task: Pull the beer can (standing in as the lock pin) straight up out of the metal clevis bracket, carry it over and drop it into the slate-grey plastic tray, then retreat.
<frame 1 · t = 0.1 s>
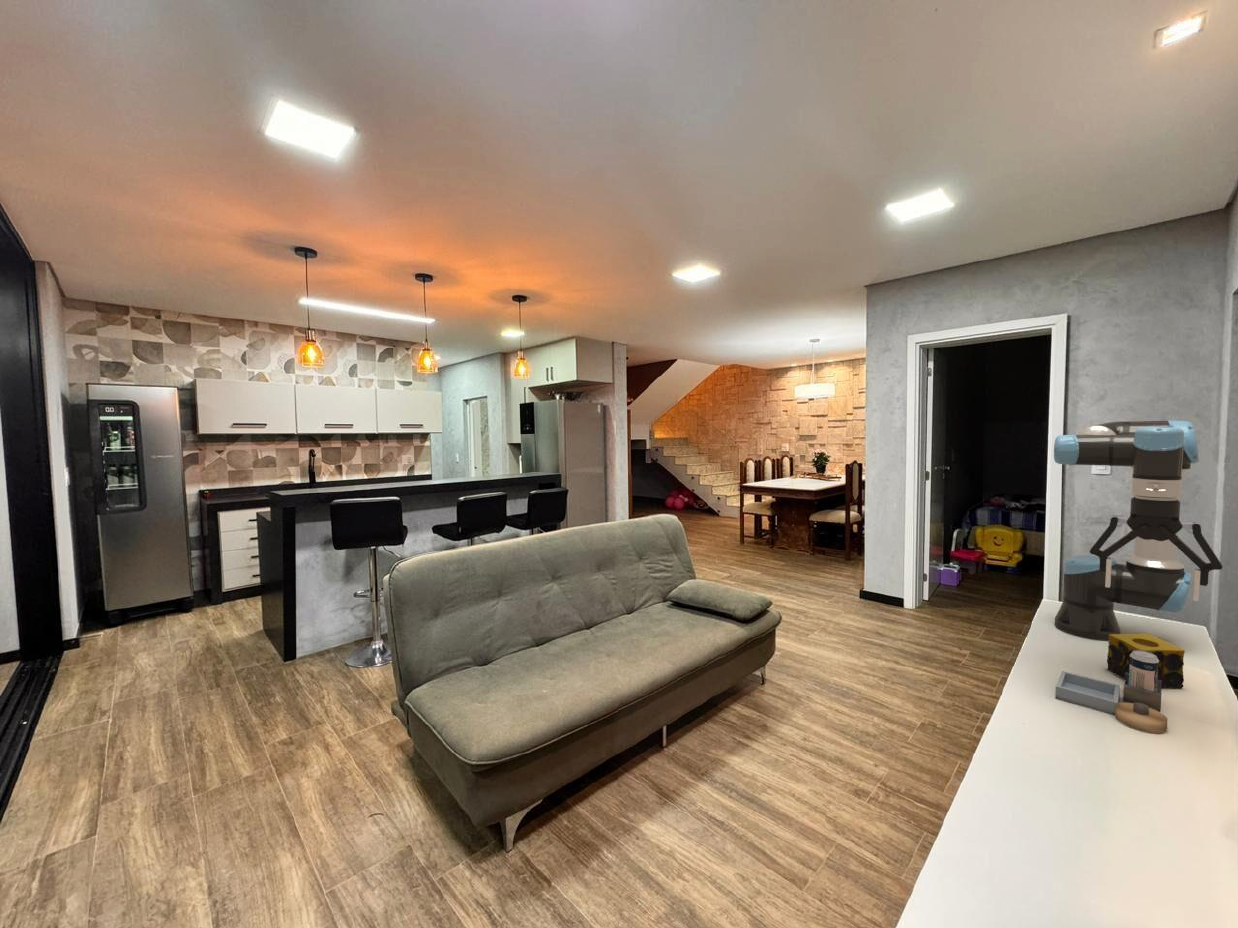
hand: (1149, 592, 115), 28 cm above the table, fingers open, 13 cm apart
beer can: (1141, 704, 120), on the table
tray: (1087, 697, 123), on the table
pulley: (1140, 722, 113), on the table
yellow holed block: (1143, 679, 131), on the table
bracket: (1141, 703, 120), on the table
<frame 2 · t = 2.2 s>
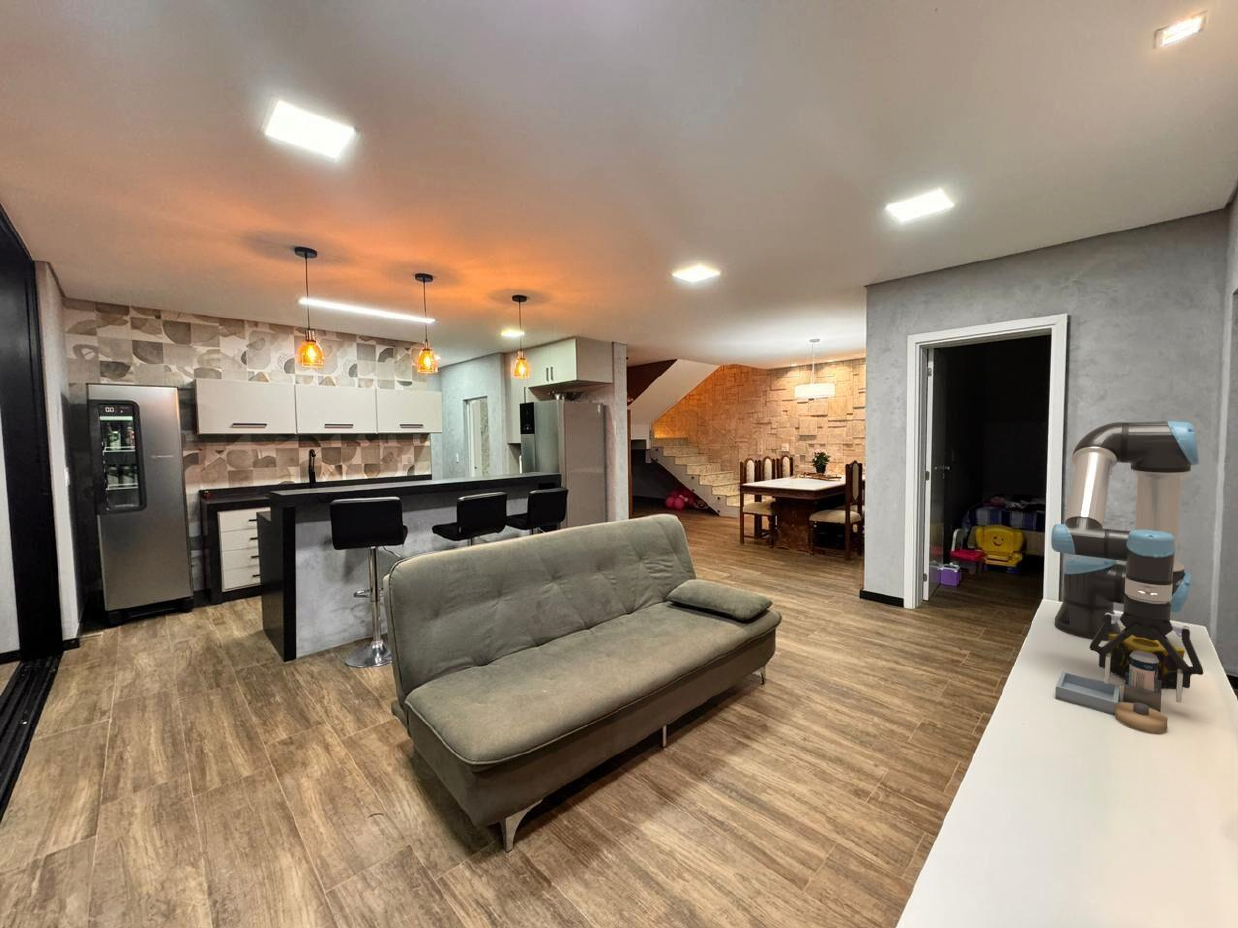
hand: (1141, 690, 120), 3 cm above the table, fingers open, 11 cm apart
nothing on the table moved.
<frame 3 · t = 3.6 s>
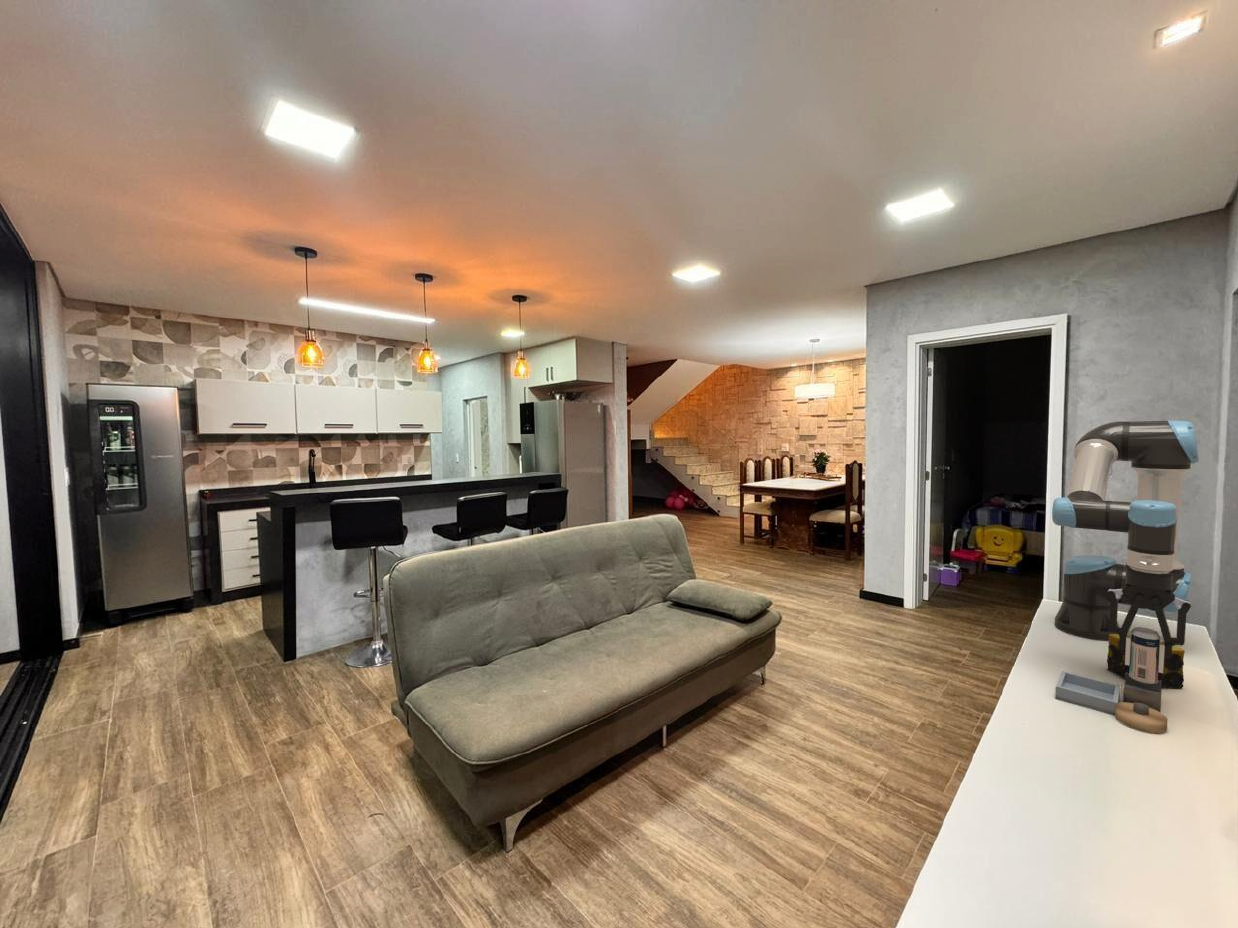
hand: (1143, 666, 120), 9 cm above the table, fingers closed on beer can, 5 cm apart
beer can: (1143, 680, 120), point 5 cm above the table, touching gripper
everything else where it was.
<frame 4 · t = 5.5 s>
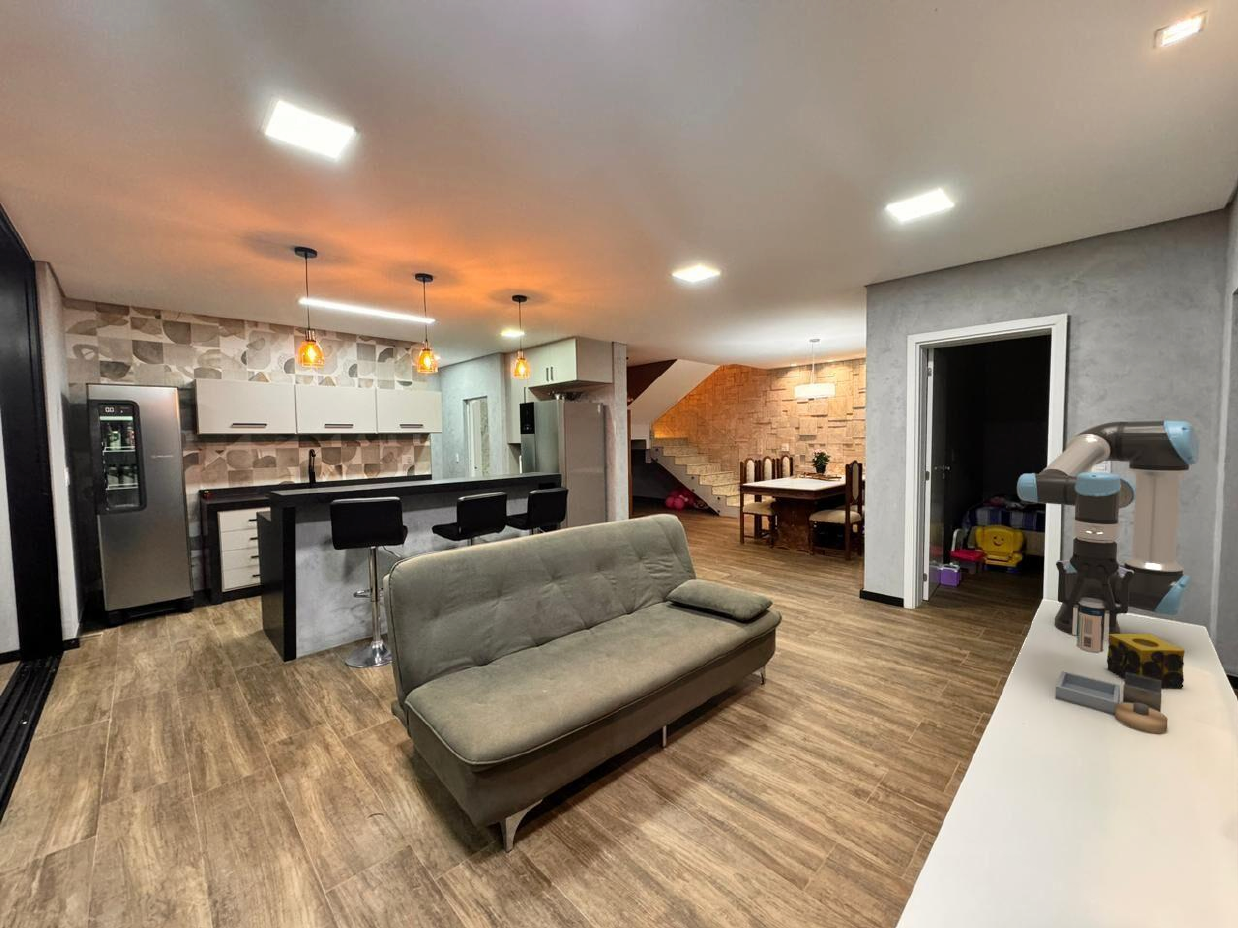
hand: (1090, 636, 122), 15 cm above the table, fingers closed on beer can, 5 cm apart
beer can: (1089, 650, 122), point 12 cm above the table, touching gripper
everything else where it was.
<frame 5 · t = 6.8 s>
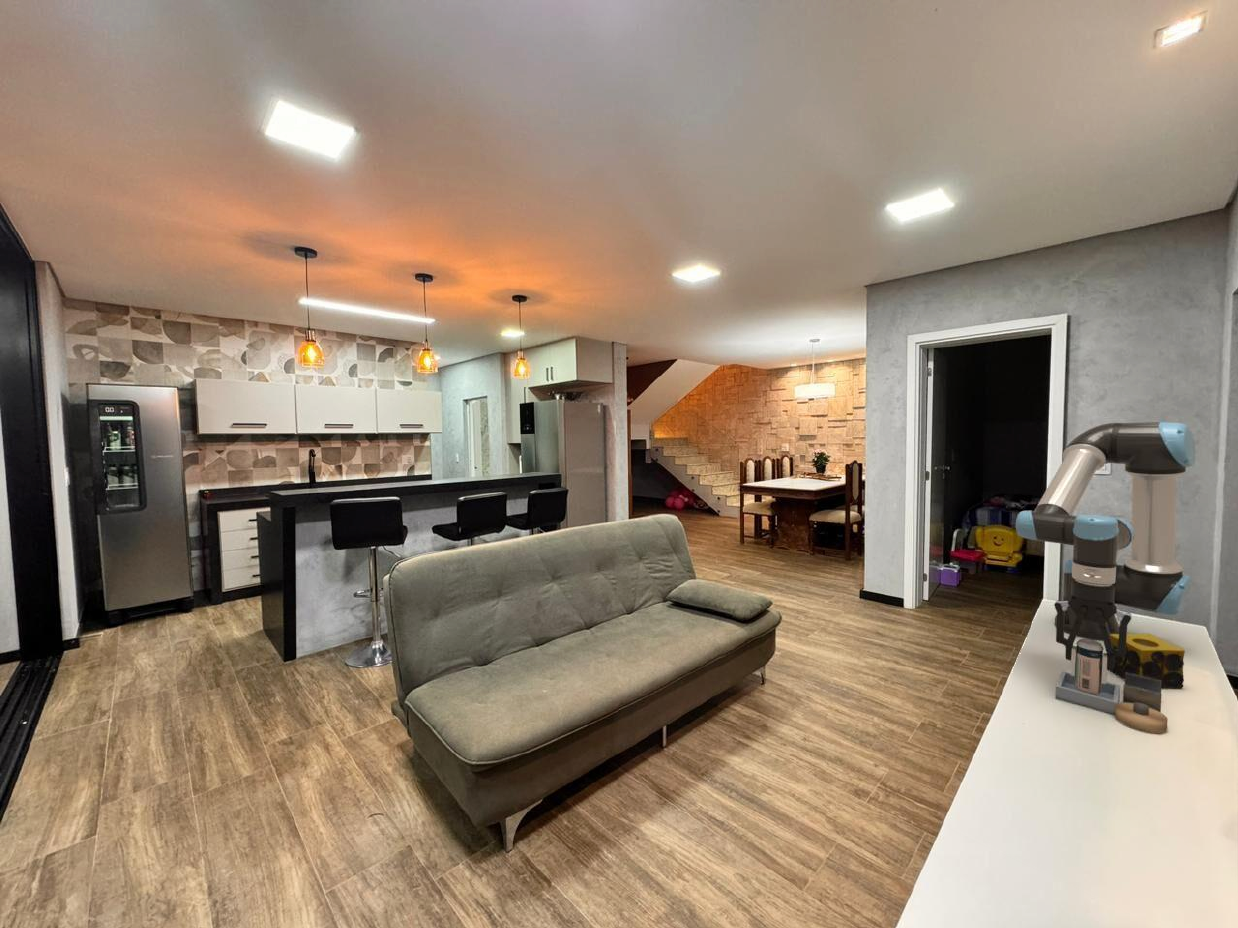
hand: (1088, 677, 123), 5 cm above the table, fingers closed on beer can, 5 cm apart
beer can: (1087, 691, 123), point 2 cm above the table, touching gripper
everything else where it was.
when the fingers open (4 cm above the table, at t = 7.7 s): beer can stays where it is, resting on tray.
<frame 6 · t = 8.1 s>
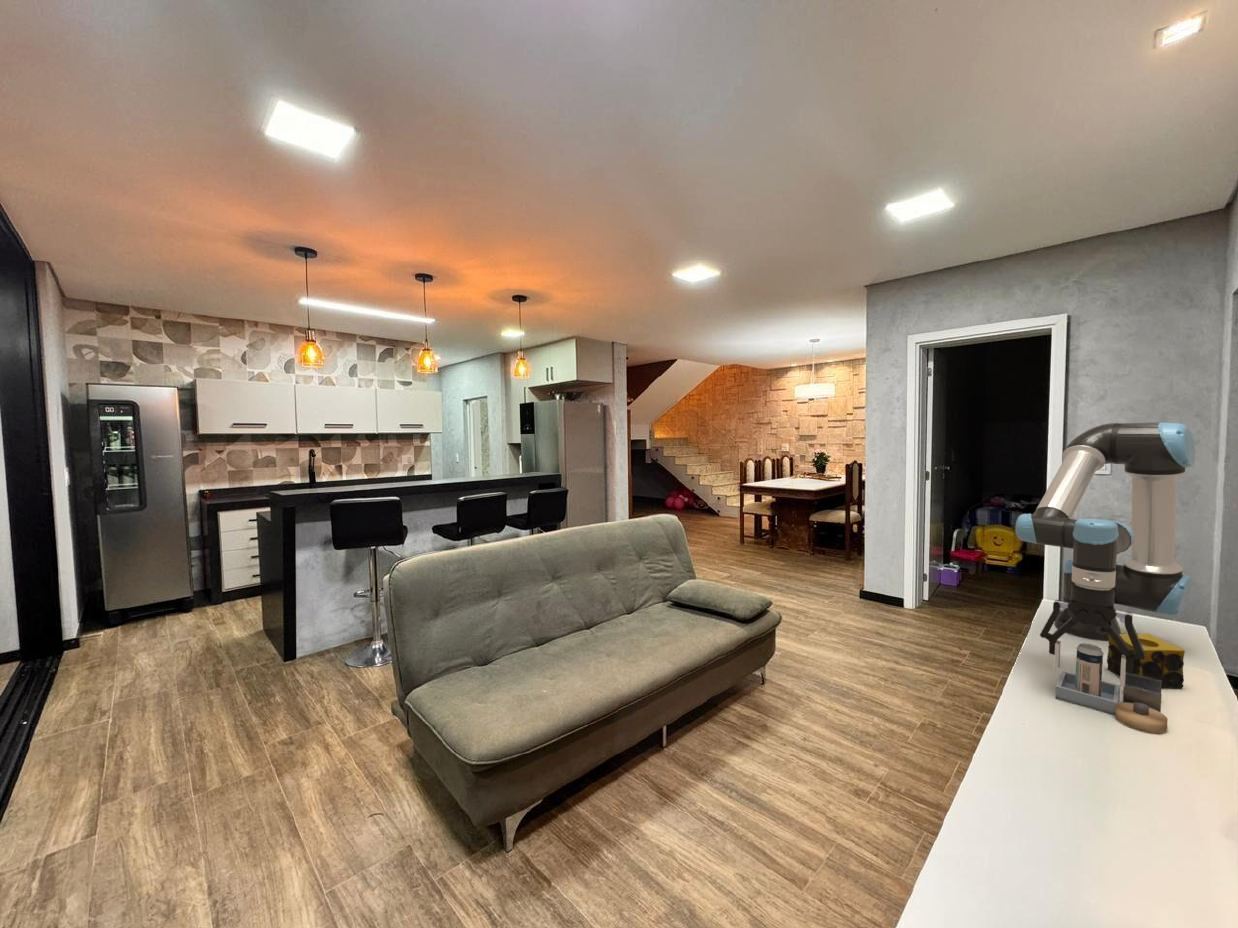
hand: (1088, 675, 123), 5 cm above the table, fingers open, 11 cm apart
beer can: (1087, 696, 123), resting on tray
everything else where it was.
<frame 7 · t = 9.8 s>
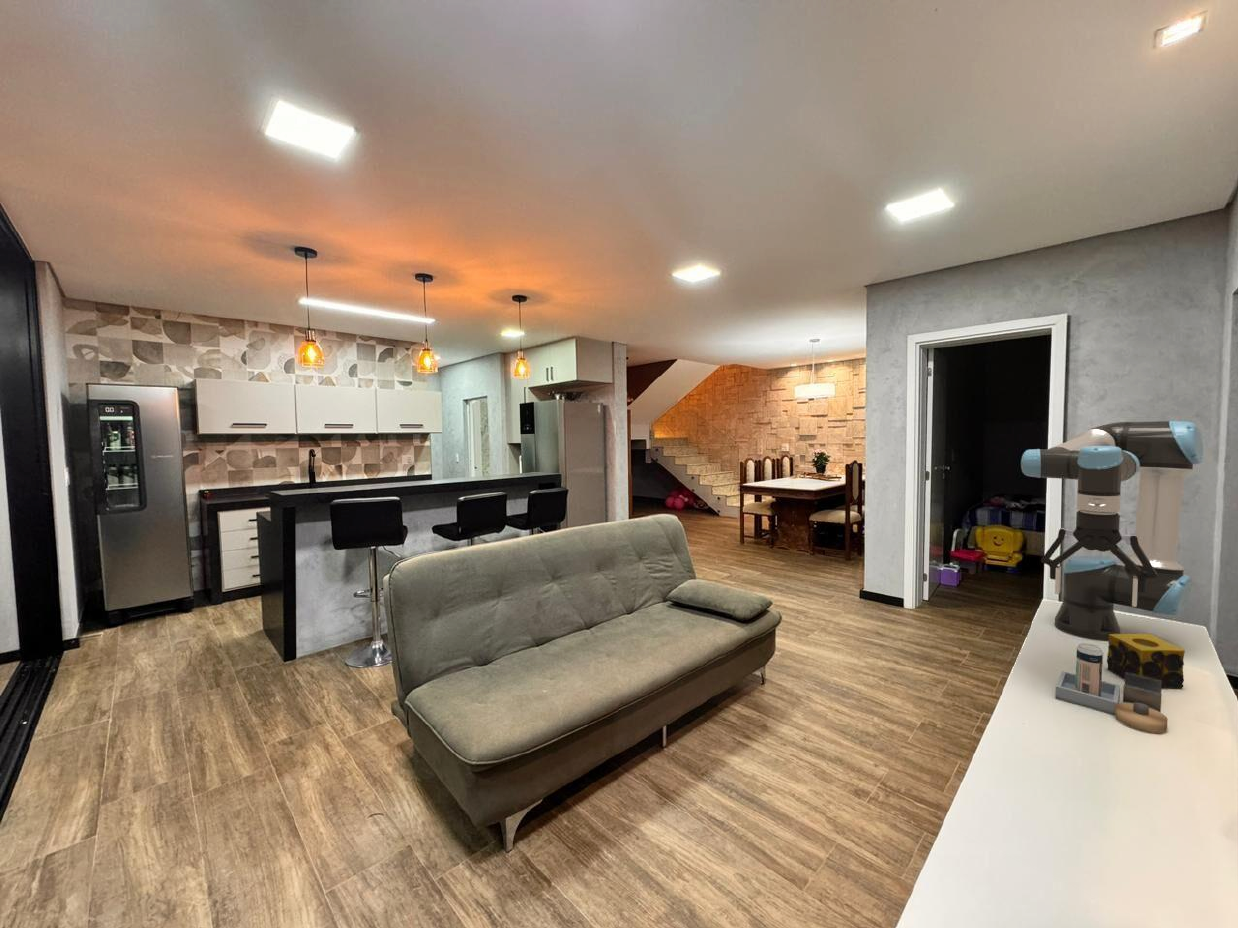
hand: (1094, 598, 124), 23 cm above the table, fingers open, 13 cm apart
nothing on the table moved.
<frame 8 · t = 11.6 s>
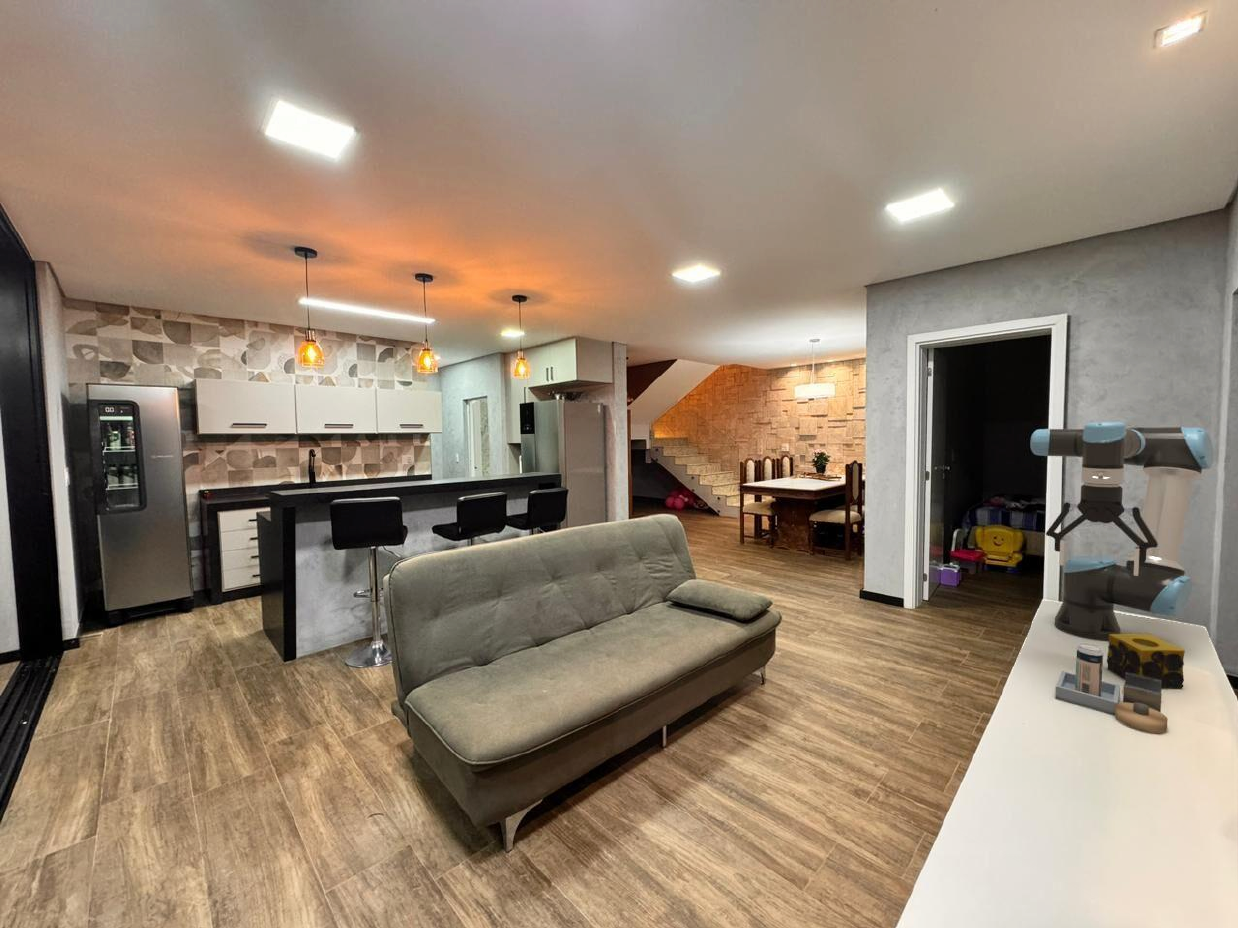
hand: (1097, 569, 129), 29 cm above the table, fingers open, 13 cm apart
nothing on the table moved.
at the end: beer can inside the target area on the tray (0.0 cm from its centre), point 0.4 cm above the tray's base; the gripper is holding nothing; beer can touching tray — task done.
